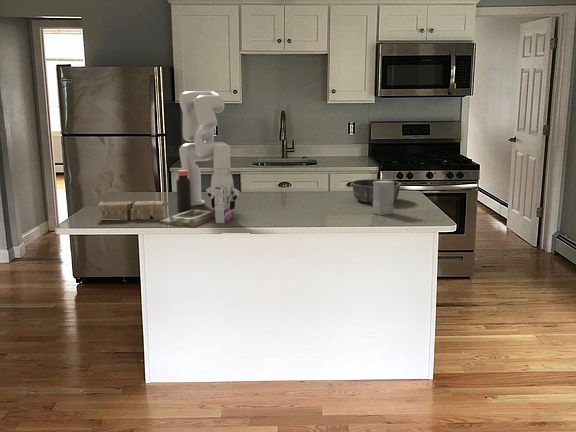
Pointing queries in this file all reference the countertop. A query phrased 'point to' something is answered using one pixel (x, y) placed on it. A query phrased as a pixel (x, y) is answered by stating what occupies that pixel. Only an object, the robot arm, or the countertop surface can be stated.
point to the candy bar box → (222, 206)
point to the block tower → (131, 210)
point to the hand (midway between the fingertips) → (223, 208)
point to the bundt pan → (369, 189)
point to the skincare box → (383, 197)
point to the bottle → (183, 191)
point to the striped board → (190, 218)
